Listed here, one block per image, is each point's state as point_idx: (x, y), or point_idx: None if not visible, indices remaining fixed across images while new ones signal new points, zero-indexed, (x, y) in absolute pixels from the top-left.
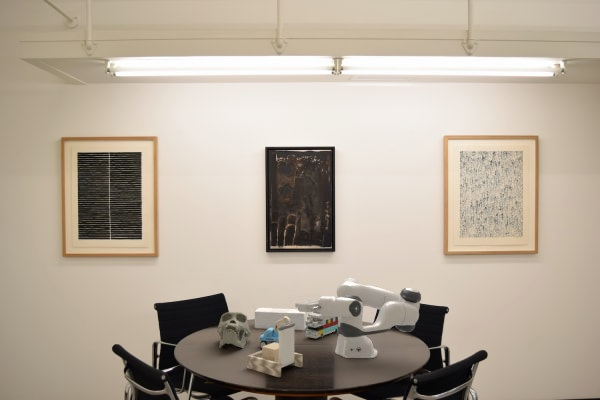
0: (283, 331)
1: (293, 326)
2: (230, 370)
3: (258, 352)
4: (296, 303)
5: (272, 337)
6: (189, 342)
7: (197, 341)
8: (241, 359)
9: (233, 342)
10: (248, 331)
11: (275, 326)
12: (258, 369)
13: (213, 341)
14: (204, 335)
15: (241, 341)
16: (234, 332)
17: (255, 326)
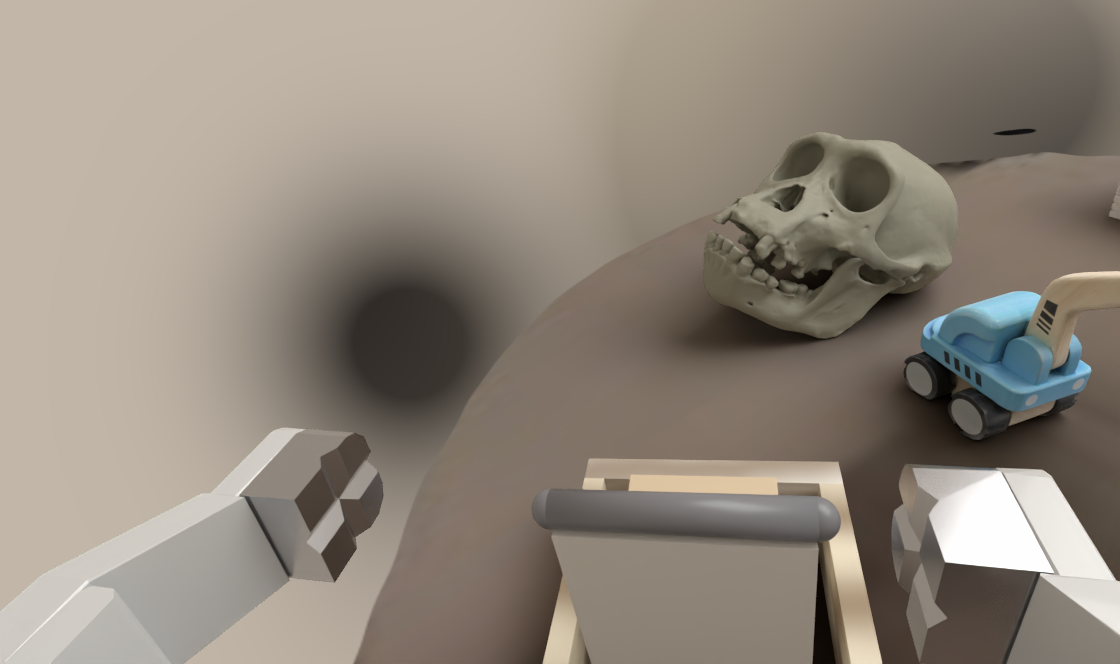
0: (593, 549)
1: (799, 546)
2: (530, 471)
3: (676, 469)
4: (268, 440)
5: (985, 368)
6: None
7: None
8: (692, 419)
9: (738, 307)
10: (881, 266)
11: (1042, 306)
12: None
13: None
14: None
15: (809, 309)
16: (740, 262)
17: (1116, 209)
